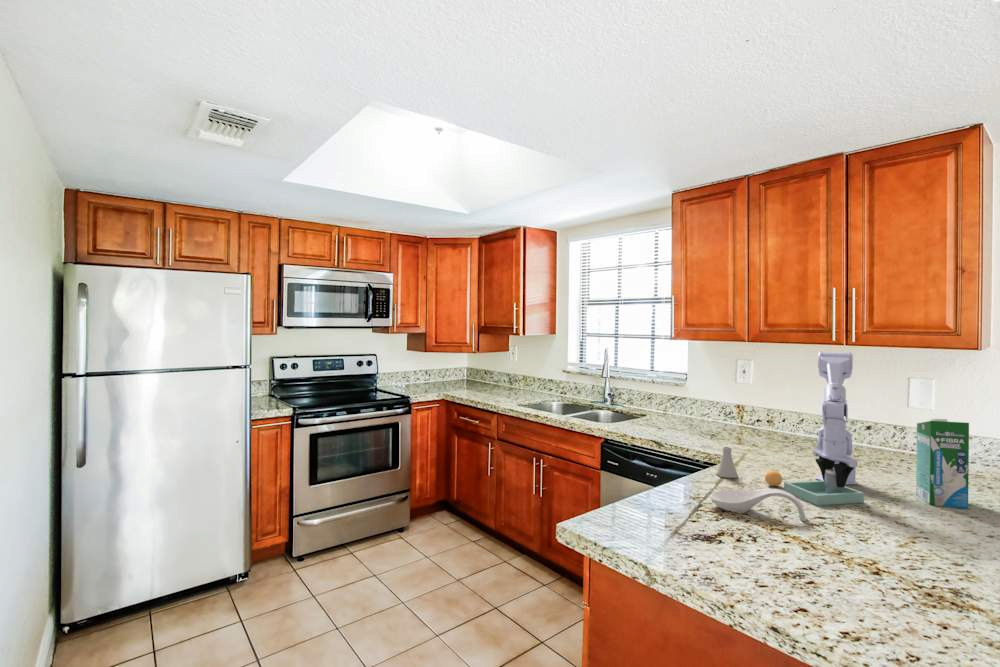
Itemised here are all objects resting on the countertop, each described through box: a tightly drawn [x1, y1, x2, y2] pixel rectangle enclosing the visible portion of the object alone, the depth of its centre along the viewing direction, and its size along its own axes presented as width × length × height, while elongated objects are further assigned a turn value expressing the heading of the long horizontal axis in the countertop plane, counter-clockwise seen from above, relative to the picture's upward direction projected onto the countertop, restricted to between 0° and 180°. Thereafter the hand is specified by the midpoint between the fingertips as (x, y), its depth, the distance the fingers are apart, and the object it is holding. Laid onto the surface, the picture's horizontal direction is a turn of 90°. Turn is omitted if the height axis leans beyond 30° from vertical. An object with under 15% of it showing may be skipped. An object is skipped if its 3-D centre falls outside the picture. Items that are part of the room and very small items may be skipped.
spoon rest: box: [709, 488, 806, 522], centre depth 141 cm, size 24×12×7 cm, turn 65°
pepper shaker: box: [825, 469, 842, 494], centre depth 154 cm, size 4×4×7 cm
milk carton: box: [915, 418, 970, 510], centre depth 150 cm, size 9×9×25 cm
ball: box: [764, 470, 783, 487], centre depth 165 cm, size 5×5×5 cm
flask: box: [716, 446, 739, 479], centre depth 176 cm, size 7×7×10 cm
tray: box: [783, 480, 865, 507], centre depth 154 cm, size 16×13×3 cm
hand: (834, 484), depth 154 cm, fingers closed on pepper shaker, 4 cm apart
